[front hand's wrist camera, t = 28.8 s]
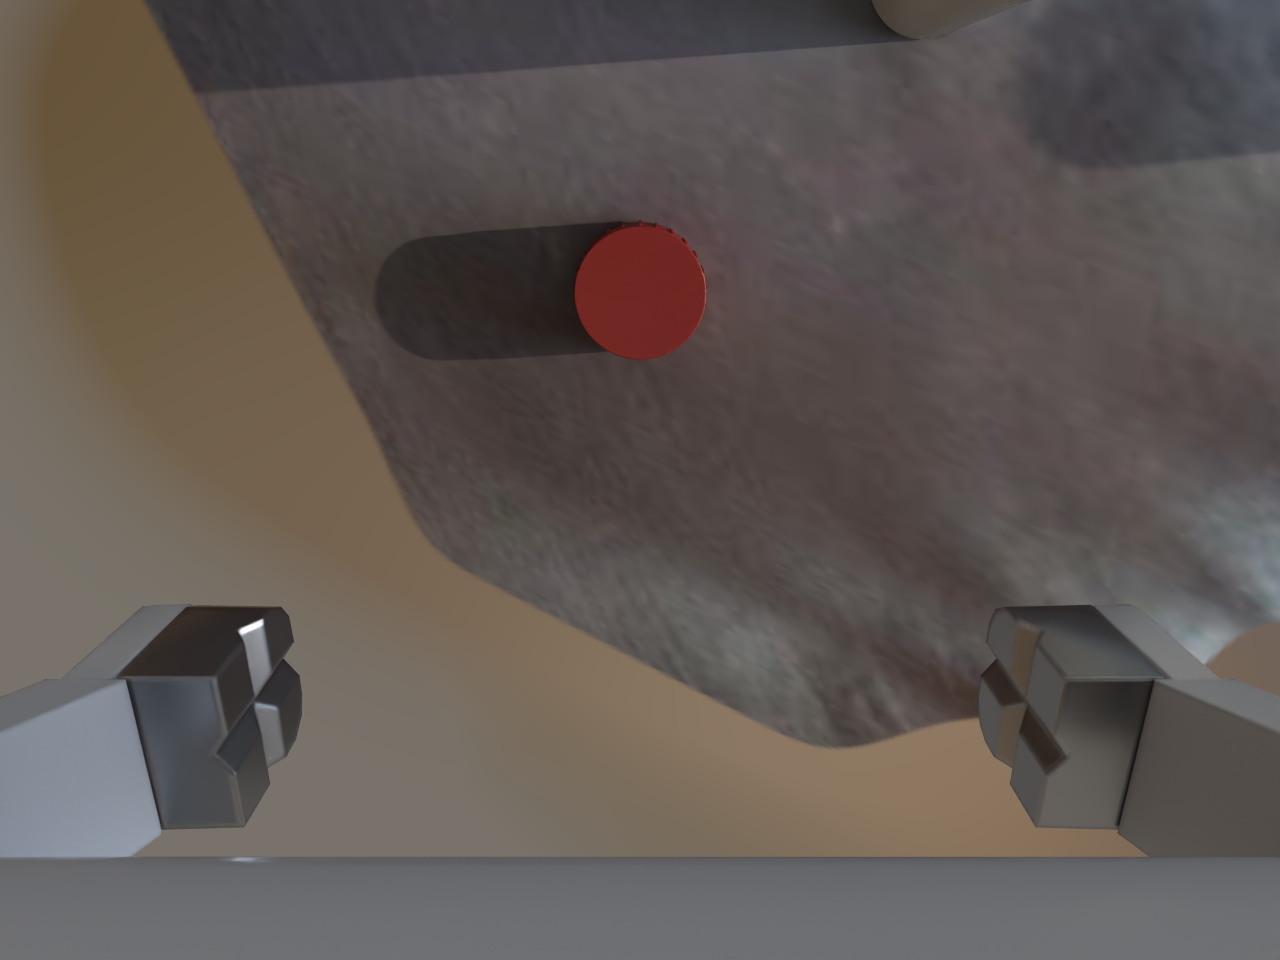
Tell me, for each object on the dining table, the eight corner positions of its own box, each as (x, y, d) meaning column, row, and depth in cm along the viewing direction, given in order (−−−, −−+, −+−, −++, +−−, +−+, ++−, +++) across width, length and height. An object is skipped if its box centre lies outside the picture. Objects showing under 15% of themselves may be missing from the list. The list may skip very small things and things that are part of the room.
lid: (560, 239, 38) (555, 245, 36) (687, 204, 38) (690, 208, 35) (595, 363, 40) (593, 375, 38) (716, 331, 39) (721, 342, 37)
